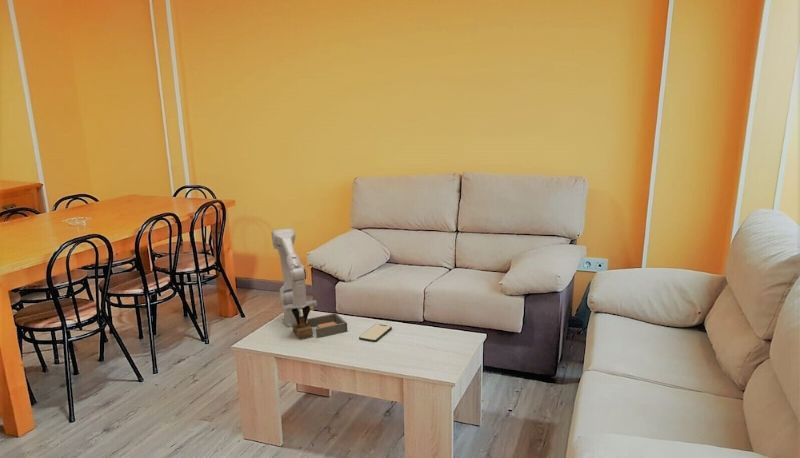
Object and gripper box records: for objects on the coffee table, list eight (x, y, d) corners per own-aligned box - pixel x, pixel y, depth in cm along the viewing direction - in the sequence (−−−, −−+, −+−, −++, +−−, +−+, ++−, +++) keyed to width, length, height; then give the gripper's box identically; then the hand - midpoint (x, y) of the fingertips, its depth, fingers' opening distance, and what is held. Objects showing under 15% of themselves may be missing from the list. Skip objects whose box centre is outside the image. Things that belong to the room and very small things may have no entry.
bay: (307, 327, 268) (306, 318, 267) (336, 321, 274) (336, 313, 273) (317, 337, 256) (316, 329, 255) (347, 331, 262) (346, 322, 261)
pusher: (292, 332, 264) (291, 315, 262) (305, 329, 266) (304, 312, 264) (299, 339, 255) (297, 322, 253) (312, 336, 257) (311, 319, 256)
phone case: (375, 344, 249) (393, 329, 263) (375, 340, 249) (392, 326, 263) (357, 341, 253) (375, 326, 267) (357, 337, 253) (375, 323, 267)
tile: (317, 329, 267) (316, 325, 267) (333, 325, 270) (333, 321, 270) (322, 335, 260) (322, 331, 260) (339, 331, 263) (339, 327, 263)
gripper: (285, 300, 249) (288, 330, 253) (318, 293, 256) (320, 323, 259) (281, 295, 256) (283, 324, 259) (313, 289, 262) (315, 318, 265)
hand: (301, 323), depth 259 cm, fingers closed on pusher, 2 cm apart
